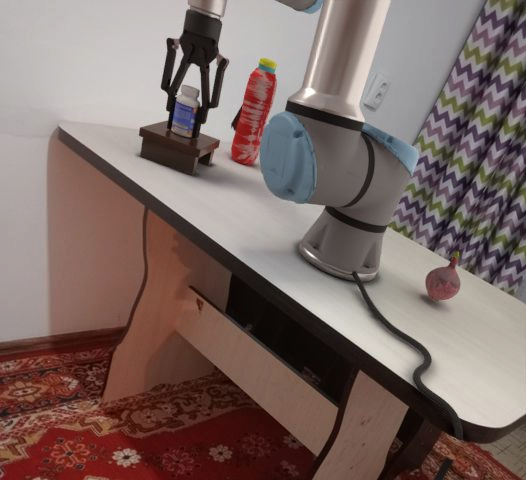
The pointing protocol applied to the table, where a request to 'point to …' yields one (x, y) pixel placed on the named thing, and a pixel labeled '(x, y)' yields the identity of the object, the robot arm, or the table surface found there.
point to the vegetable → (443, 281)
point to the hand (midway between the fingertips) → (182, 132)
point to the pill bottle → (185, 111)
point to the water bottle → (254, 112)
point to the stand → (176, 148)
